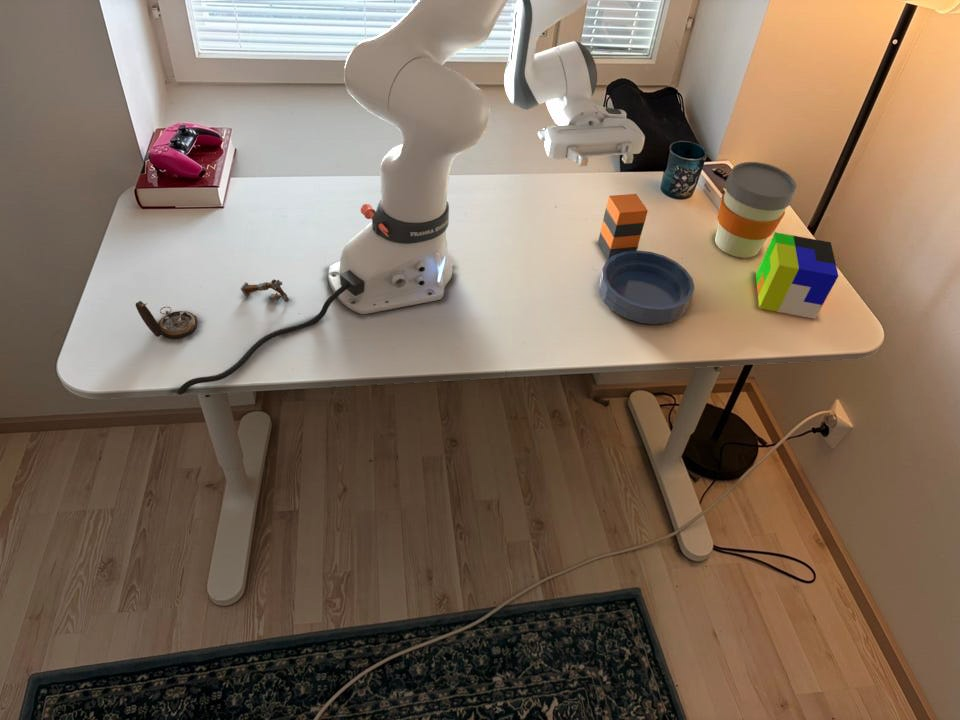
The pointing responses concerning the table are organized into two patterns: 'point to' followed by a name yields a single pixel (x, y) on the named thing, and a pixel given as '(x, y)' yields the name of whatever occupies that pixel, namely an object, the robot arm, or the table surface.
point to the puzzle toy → (796, 275)
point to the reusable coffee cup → (752, 207)
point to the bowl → (645, 287)
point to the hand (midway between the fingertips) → (607, 161)
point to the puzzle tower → (622, 224)
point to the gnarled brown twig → (265, 286)
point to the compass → (169, 322)
